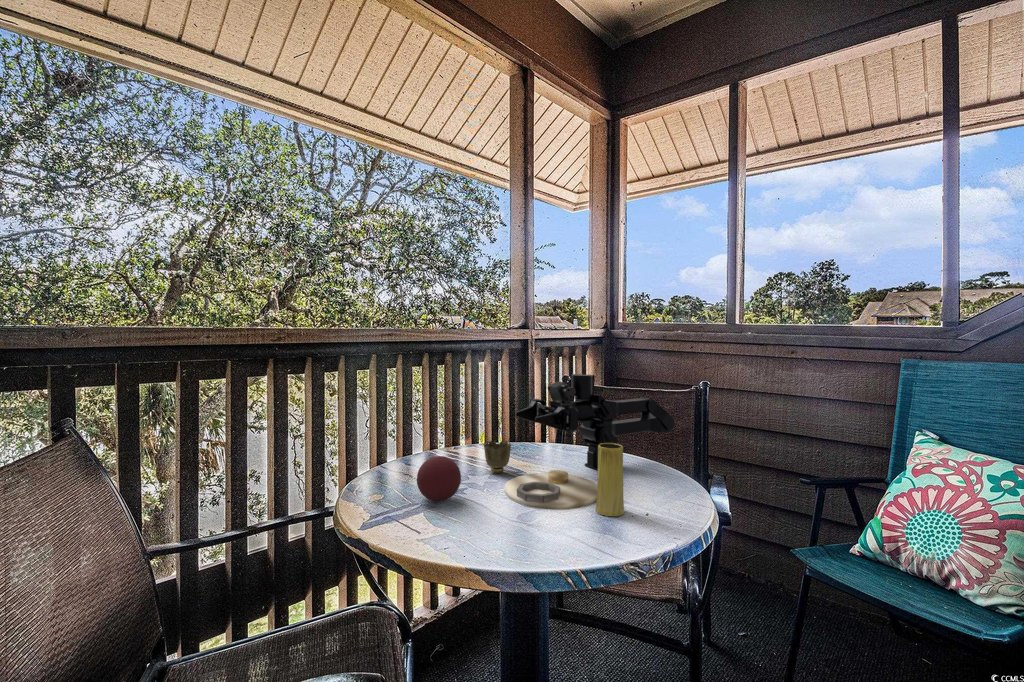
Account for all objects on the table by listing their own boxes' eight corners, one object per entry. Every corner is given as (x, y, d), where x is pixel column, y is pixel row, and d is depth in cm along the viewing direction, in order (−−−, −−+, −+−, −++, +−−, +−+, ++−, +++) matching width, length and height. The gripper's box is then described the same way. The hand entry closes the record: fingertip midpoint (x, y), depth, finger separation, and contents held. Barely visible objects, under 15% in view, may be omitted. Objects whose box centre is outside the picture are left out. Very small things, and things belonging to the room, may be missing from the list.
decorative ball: (449, 510, 102) (449, 464, 102) (408, 505, 105) (408, 460, 105) (467, 495, 112) (468, 453, 111) (429, 490, 115) (430, 449, 115)
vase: (592, 514, 100) (593, 447, 100) (598, 505, 106) (599, 441, 106) (622, 519, 98) (622, 450, 98) (626, 508, 104) (627, 443, 103)
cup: (512, 469, 133) (512, 440, 133) (509, 477, 126) (509, 447, 126) (486, 468, 134) (486, 440, 134) (481, 476, 127) (481, 446, 127)
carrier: (561, 472, 131) (561, 461, 131) (621, 497, 111) (621, 484, 111) (487, 485, 119) (487, 473, 119) (539, 516, 99) (539, 501, 99)
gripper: (553, 379, 138) (507, 382, 130) (596, 386, 122) (546, 389, 114) (553, 417, 139) (507, 422, 131) (595, 429, 123) (546, 435, 115)
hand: (525, 417), depth 123 cm, fingers open, 9 cm apart
